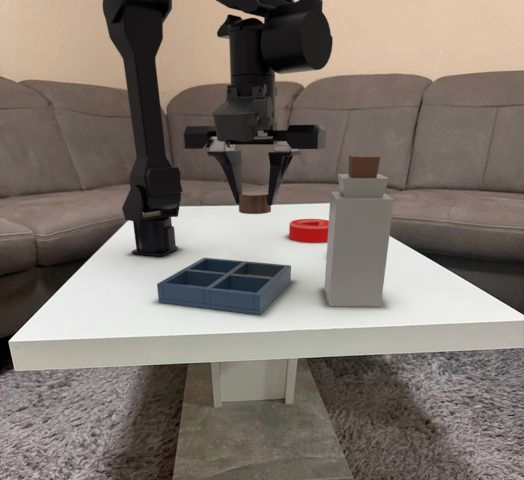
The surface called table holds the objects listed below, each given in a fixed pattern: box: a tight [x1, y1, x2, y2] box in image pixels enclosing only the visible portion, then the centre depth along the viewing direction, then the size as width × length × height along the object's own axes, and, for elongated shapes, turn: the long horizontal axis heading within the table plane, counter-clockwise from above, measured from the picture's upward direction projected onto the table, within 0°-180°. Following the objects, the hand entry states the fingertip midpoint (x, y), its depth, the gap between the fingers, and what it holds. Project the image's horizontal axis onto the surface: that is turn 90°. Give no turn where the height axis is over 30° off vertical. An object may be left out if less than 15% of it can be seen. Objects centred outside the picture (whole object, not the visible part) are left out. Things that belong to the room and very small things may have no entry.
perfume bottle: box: [324, 155, 395, 308], centre depth 59 cm, size 7×7×18 cm
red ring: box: [288, 218, 329, 243], centre depth 97 cm, size 10×10×3 cm
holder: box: [156, 257, 292, 316], centre depth 65 cm, size 14×14×3 cm
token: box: [238, 190, 272, 215], centre depth 65 cm, size 5×5×2 cm
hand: (254, 204), depth 65 cm, fingers closed on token, 4 cm apart
